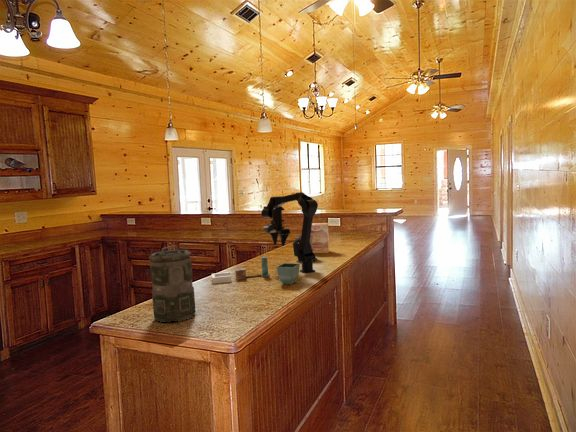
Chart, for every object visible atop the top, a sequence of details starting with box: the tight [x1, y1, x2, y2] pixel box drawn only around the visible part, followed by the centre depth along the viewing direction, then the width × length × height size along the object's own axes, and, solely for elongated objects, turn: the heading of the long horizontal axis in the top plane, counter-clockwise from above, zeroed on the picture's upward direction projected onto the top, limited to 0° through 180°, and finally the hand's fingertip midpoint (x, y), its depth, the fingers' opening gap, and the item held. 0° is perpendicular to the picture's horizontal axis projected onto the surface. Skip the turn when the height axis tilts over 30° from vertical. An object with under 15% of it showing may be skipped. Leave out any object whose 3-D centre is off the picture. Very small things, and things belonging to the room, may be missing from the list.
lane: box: [211, 271, 232, 284], centre depth 223 cm, size 10×10×3 cm
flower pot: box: [276, 262, 300, 285], centre depth 209 cm, size 9×9×9 cm
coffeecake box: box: [311, 222, 330, 254], centre depth 287 cm, size 15×7×20 cm, turn 81°
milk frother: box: [292, 234, 318, 262], centre depth 264 cm, size 14×16×15 cm
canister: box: [148, 244, 197, 323], centre depth 166 cm, size 16×16×28 cm
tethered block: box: [234, 256, 271, 281], centre depth 226 cm, size 18×5×10 cm, turn 103°
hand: (278, 245), depth 245 cm, fingers open, 9 cm apart
